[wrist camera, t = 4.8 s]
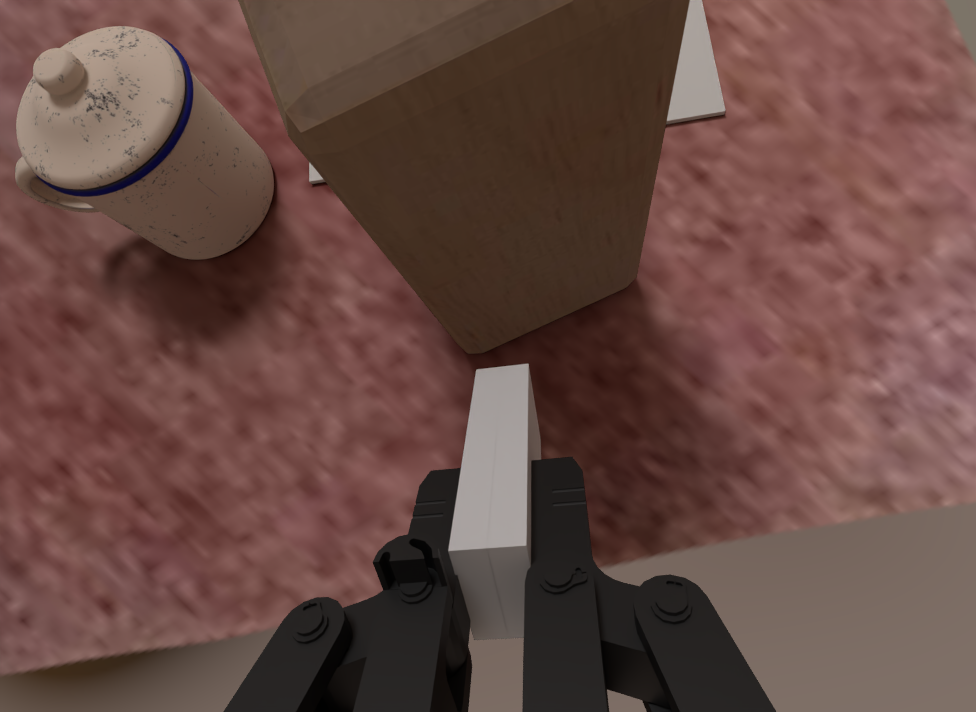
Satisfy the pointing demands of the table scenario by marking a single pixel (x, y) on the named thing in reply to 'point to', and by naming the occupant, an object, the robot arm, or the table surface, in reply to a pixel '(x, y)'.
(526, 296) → the block
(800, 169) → the table surface
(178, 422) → the table surface
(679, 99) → the mat
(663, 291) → the table surface
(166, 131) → the teacup with lid
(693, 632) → the robot arm
